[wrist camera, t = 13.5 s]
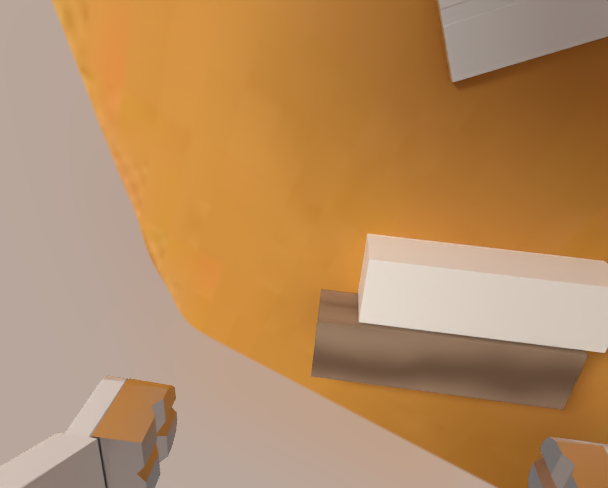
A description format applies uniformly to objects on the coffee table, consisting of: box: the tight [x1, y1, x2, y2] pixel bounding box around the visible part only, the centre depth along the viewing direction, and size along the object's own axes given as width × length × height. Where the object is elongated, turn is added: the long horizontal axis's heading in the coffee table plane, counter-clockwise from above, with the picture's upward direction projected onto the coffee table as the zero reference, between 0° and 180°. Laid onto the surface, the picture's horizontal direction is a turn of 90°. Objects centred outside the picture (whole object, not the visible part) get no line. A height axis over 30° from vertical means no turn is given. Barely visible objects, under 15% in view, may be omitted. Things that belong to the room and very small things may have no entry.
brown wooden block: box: [311, 289, 588, 410], centre depth 42 cm, size 6×22×5 cm, turn 85°
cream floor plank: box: [358, 234, 608, 353], centre depth 39 cm, size 6×20×5 cm, turn 85°
